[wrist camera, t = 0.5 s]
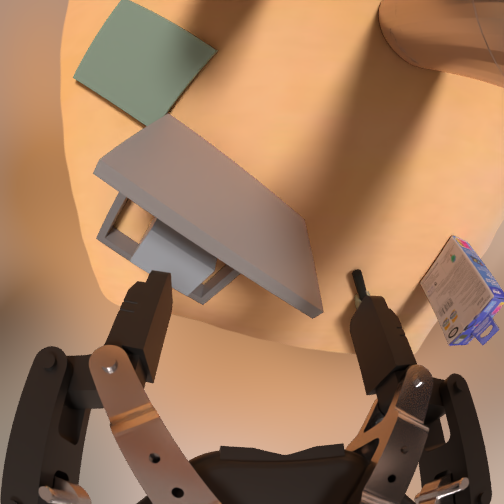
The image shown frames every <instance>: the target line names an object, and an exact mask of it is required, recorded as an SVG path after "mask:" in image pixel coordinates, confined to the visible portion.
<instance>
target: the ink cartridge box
mask: <svg viewBox="0 0 504 504" xmlns="http://www.w3.org/2000/svg"><path fill="white" fill-rule="evenodd" d="M420 284H421V286H422V288H423V290H424V292H425V294H426V296H427V298H428V300H429V302H430V304H431V306H432V308H433V311H434V313H435V314H436V317H437V319H438V321H439V323H440V326H441V328H442V330H443V333H444V335H445V338H446V340H447V342H448V345H450V346H451V345H466V344H468V343H469V342H470V341H471V340H472V339H473V338H474V337H476V339H477V340H478V341H479V342H480V343H481V344H482V345H484V344H485V343H486V342H487V341H488V340H489V339H490V338H491V337H492V336H493V335H494V334H495V333H496V332H497V331H498V330H499V327H498V326H497V324H496V323H495V321H494V320H493V317H494V315H495V314H496V313H497V312H498V310H500V308H501V307H502V306H503V305H504V292H503V291H502V289H501V288H500V286H499V285H498V283H497V282H496V280H495V279H494V277H493V276H492V274H491V273H490V272H489V270H488V269H487V267H486V266H485V264H484V263H483V262H482V260H481V259H480V258H479V256H478V255H477V254H476V252H475V251H474V250H473V248H472V247H471V246H470V244H469V243H468V242H466V241H464V240H462V239H460V238H458V237H455V236H451V238H450V239H449V241H448V242H447V244H446V246H445V247H444V249H443V250H442V252H441V253H440V255H439V256H438V258H437V259H436V261H435V262H434V264H433V265H432V267H431V268H430V269H429V271H428V272H427V274H426V275H425V276H424V278H423V279H422V280H421V282H420ZM490 325H492V326H493V328H492V330H491V331H490V333H489V334H488V335H487V336H486V337H483V338H481V337H480V335H481V333H483V332H484V331H485V330H486V329H487V328H488V327H489V326H490Z"/></svg>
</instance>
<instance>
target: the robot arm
mask: <svg viewBox="0 0 504 504" xmlns="http://www.w3.org/2000/svg"><path fill="white" fill-rule="evenodd" d="M378 16H379V24H380V27H381V30H382V33H383V35H384V37H385V39H386V41H387V42H388V44H389V45H390V46H391V48H392V49H393V50H394V51H395V52H396V53H397V54H398V55H399V56H400V57H401V58H403V59H404V60H405V61H407V62H408V63H410V64H412V65H414V66H417V67H420V68H426V69H432V70H438V71H442V72H447V73H452V74H457V75H461V76H465V77H469V78H473V79H477V80H480V81H484V82H487V83H491V84H494V85H497V86H500V87H503V88H504V0H382V2H381V4H380V7H379V15H378ZM172 304H173V299H172V282H171V273H169V272H162V271H155V270H152V271H151V272H150V274H149V276H148V279H147V281H146V283H145V282H139V281H137V282H136V283H135V284H134V285H133V286H132V287H131V288H130V289H129V290H128V292H127V294H126V296H125V298H124V302H123V303H122V305H121V307H120V311H119V312H118V314H117V316H116V319H115V321H114V324H113V326H112V329H111V331H110V334H109V336H108V338H107V340H106V343H105V344H104V346H101V347H99V348H98V349H96V350H95V351H94V352H93V353H92V354H90V355H83V356H82V355H81V356H66V355H65V353H64V352H63V351H62V350H61V349H59V348H57V347H53V346H51V347H46V348H44V349H42V350H41V351H39V352H38V354H37V355H36V357H35V359H34V361H33V364H32V366H31V369H30V372H29V374H28V377H27V380H26V383H25V386H24V388H23V391H22V394H21V398H20V401H19V404H18V407H17V411H16V414H15V418H14V421H13V425H12V429H11V433H10V438H9V442H8V448H7V453H6V458H5V464H4V470H3V478H2V487H1V504H91V499H90V497H89V495H88V493H87V492H86V491H85V490H84V489H83V488H82V487H81V486H79V485H78V482H79V474H80V467H81V459H82V452H83V446H84V441H85V435H86V430H87V425H88V420H89V415H90V411H91V409H92V408H93V409H95V408H104V409H105V411H106V413H107V416H108V418H109V420H110V428H111V431H112V433H113V435H114V437H115V440H116V442H117V444H118V446H119V448H120V450H121V452H122V454H123V455H124V457H125V459H126V461H127V463H128V465H129V466H130V468H131V470H132V471H133V473H134V475H135V477H136V478H137V480H138V482H139V483H140V485H141V486H142V488H143V490H144V491H145V493H146V494H147V496H146V497H145V498H143V499H142V500H141V501H139V502H138V503H137V504H490V501H491V497H492V490H491V481H490V473H489V467H488V461H487V456H486V450H485V445H484V441H483V436H482V432H481V428H480V424H479V420H478V417H477V413H476V410H475V407H474V403H473V400H472V397H471V394H470V391H469V388H468V385H467V382H466V381H465V379H464V378H463V377H462V376H461V375H459V374H452V375H450V376H449V377H448V378H447V379H446V380H441V379H437V378H433V377H432V375H431V373H430V372H429V370H428V369H426V368H425V367H424V366H422V365H417V363H416V360H415V358H414V355H413V352H412V350H411V347H410V345H409V342H408V340H407V337H405V333H404V330H403V329H402V326H401V323H400V321H399V319H398V317H397V316H396V315H395V313H394V312H393V311H392V310H391V309H389V308H388V306H387V304H386V302H385V300H384V298H383V297H381V296H369V295H367V296H365V297H364V298H363V300H362V302H361V303H360V305H359V307H358V309H357V310H356V312H355V314H354V316H353V317H352V319H351V322H350V333H351V337H352V340H353V344H354V347H355V351H356V355H357V358H358V362H359V366H360V369H361V374H362V378H363V382H364V386H365V390H366V395H373V394H376V395H377V399H376V400H375V401H374V403H373V405H372V407H371V409H370V411H369V413H368V415H367V418H366V420H365V421H364V424H363V425H362V427H361V429H360V431H359V433H358V435H357V436H356V437H355V438H354V439H353V441H351V443H350V444H349V445H348V446H347V448H346V449H345V450H344V444H334V445H325V446H316V447H312V448H309V449H306V450H303V451H300V452H296V453H293V454H289V455H281V454H277V453H272V452H268V451H264V450H260V449H256V448H245V447H229V446H221V447H220V450H219V451H214V452H210V453H205V454H203V455H200V456H197V457H195V458H193V459H191V460H190V461H188V460H187V459H186V457H185V456H184V454H183V453H182V451H181V450H180V448H179V447H178V445H177V444H176V442H175V441H174V439H173V438H172V436H171V434H170V433H169V431H168V430H167V428H166V426H165V425H164V423H163V421H162V420H161V418H160V416H159V414H158V413H157V411H156V410H155V408H154V407H153V405H152V404H151V402H150V400H149V398H148V396H147V394H146V393H145V390H144V387H145V382H150V383H154V379H155V375H156V371H157V367H158V363H159V358H160V354H161V350H162V347H163V343H164V339H165V335H166V331H167V327H168V323H169V320H170V316H171V312H172ZM444 414H446V417H447V421H448V425H449V429H450V439H449V441H448V442H447V443H445V440H444V435H443V430H442V426H441V422H440V417H442V416H443V415H444ZM418 462H419V467H420V476H421V485H422V490H421V492H420V493H418V494H417V495H416V496H415V499H414V500H415V502H414V501H412V500H411V499H410V498H409V497H408V496H407V495H406V494H405V493H406V491H407V489H408V486H409V484H410V482H411V479H412V477H413V475H414V472H415V470H416V467H417V465H418Z"/></svg>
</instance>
